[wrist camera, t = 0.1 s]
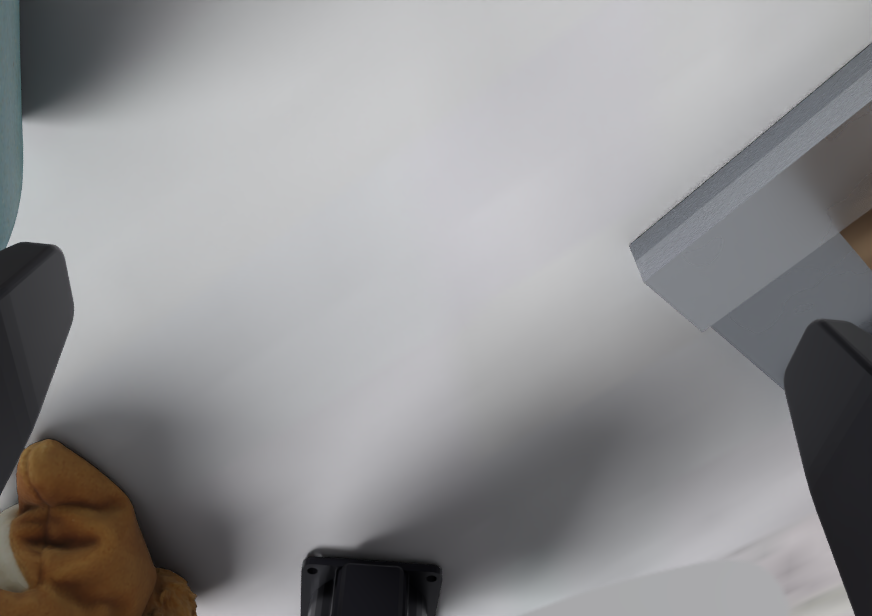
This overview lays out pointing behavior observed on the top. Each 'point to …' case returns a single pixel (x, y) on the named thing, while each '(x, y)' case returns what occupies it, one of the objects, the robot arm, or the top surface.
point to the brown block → (861, 237)
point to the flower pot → (10, 119)
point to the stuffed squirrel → (78, 546)
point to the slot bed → (776, 229)
